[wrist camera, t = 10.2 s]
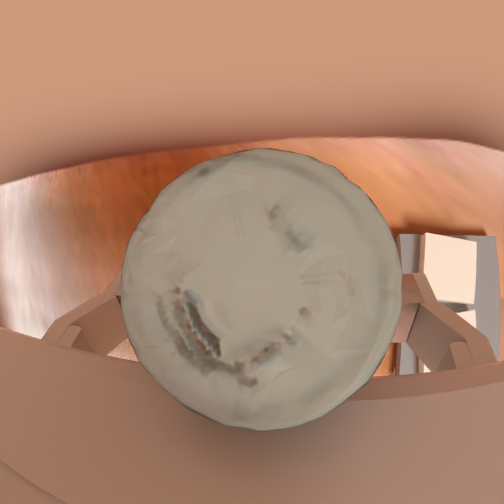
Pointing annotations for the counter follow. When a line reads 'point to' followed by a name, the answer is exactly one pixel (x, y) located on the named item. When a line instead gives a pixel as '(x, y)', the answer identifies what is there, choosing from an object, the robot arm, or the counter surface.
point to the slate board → (483, 303)
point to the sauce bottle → (261, 289)
